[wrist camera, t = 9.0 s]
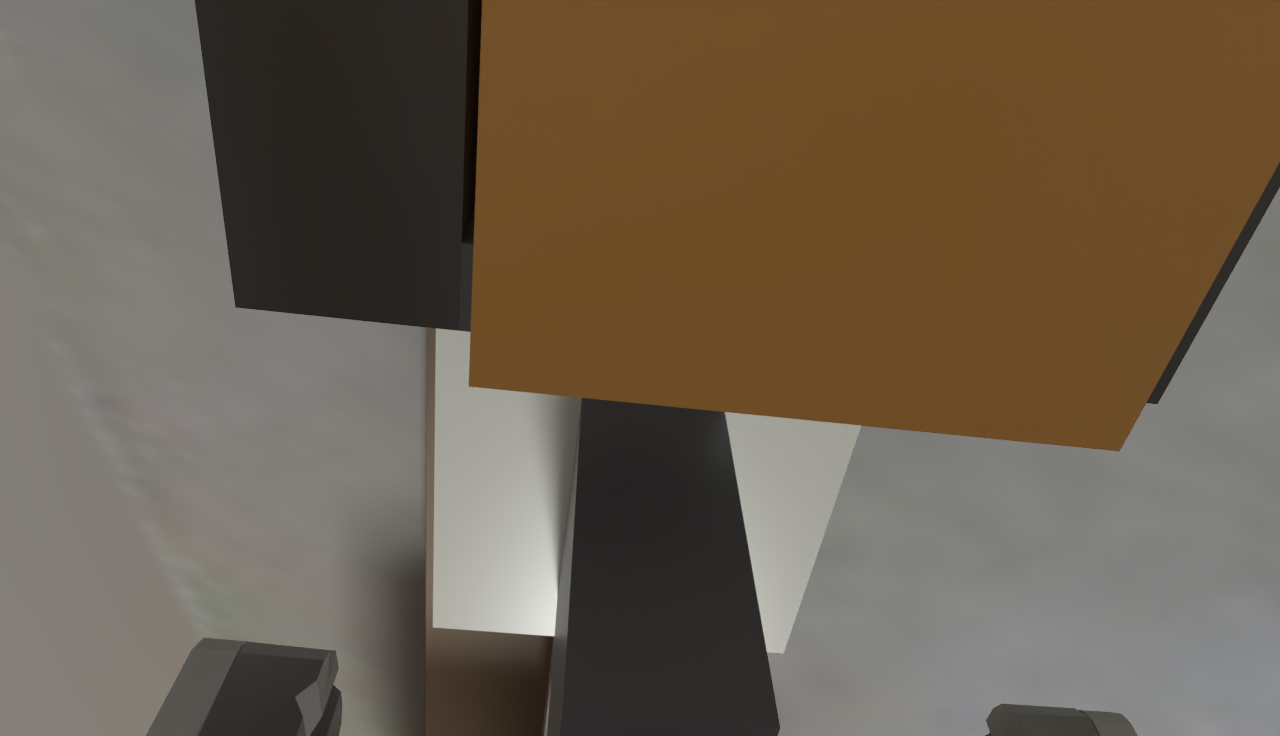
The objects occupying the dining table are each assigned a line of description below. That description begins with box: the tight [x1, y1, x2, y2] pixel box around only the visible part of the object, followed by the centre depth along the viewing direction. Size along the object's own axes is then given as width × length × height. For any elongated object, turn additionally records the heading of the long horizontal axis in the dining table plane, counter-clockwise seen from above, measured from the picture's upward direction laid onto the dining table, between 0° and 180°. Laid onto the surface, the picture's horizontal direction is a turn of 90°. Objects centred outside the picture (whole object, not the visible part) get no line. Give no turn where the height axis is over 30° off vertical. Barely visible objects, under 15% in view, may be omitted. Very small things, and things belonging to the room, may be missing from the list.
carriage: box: [433, 328, 861, 736], centre depth 13 cm, size 6×6×10 cm
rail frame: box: [195, 0, 1280, 736], centre depth 18 cm, size 8×36×10 cm, turn 172°
